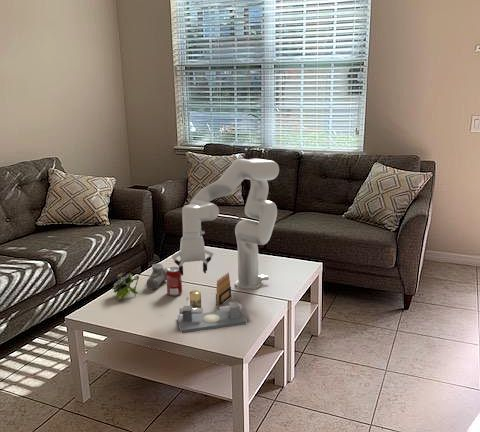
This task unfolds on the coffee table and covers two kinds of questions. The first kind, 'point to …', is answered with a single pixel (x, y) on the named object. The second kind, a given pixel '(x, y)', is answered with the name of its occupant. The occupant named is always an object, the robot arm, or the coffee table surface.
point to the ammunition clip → (223, 290)
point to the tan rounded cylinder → (195, 299)
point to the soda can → (173, 281)
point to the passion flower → (124, 285)
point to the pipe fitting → (157, 276)
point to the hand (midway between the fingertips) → (193, 273)
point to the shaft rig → (214, 319)
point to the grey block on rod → (189, 312)
